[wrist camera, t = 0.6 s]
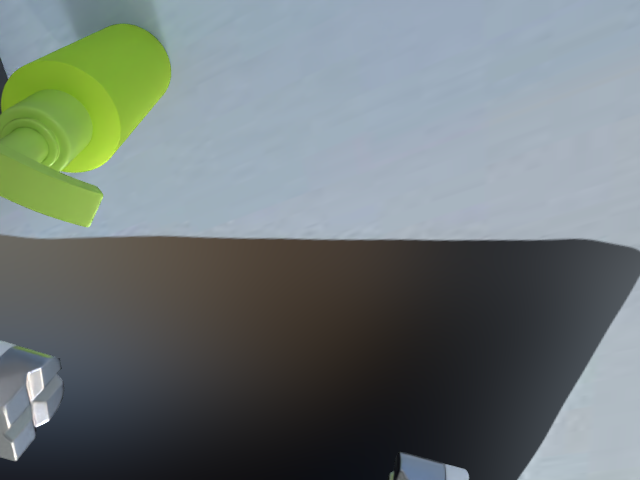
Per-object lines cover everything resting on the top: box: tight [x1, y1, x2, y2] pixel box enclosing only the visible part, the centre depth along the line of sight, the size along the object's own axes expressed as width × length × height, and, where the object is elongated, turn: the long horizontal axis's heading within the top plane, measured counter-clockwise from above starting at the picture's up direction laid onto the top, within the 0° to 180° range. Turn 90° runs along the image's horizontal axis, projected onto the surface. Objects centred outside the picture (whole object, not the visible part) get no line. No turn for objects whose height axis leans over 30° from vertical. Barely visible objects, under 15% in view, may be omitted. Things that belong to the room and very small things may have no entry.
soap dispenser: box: [0, 24, 171, 227], centre depth 29 cm, size 6×7×20 cm
